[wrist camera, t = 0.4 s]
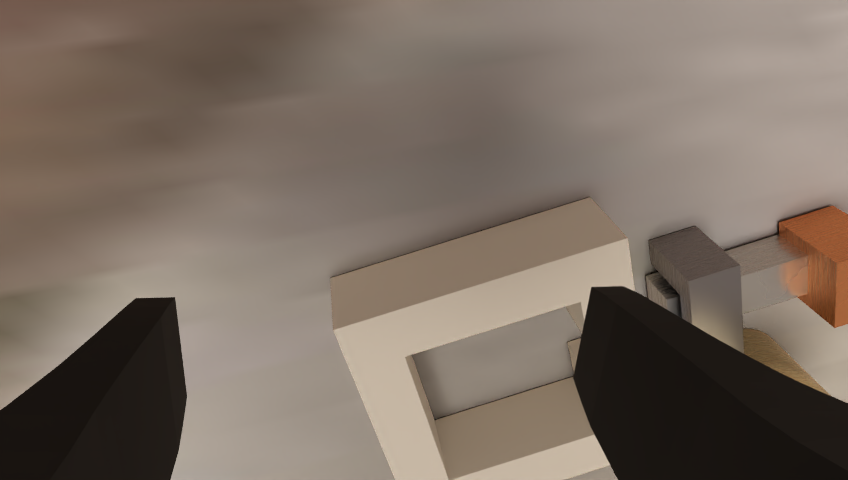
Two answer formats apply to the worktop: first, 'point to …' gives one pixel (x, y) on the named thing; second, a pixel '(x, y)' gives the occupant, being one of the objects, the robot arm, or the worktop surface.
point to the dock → (469, 315)
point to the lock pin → (787, 268)
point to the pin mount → (702, 282)
